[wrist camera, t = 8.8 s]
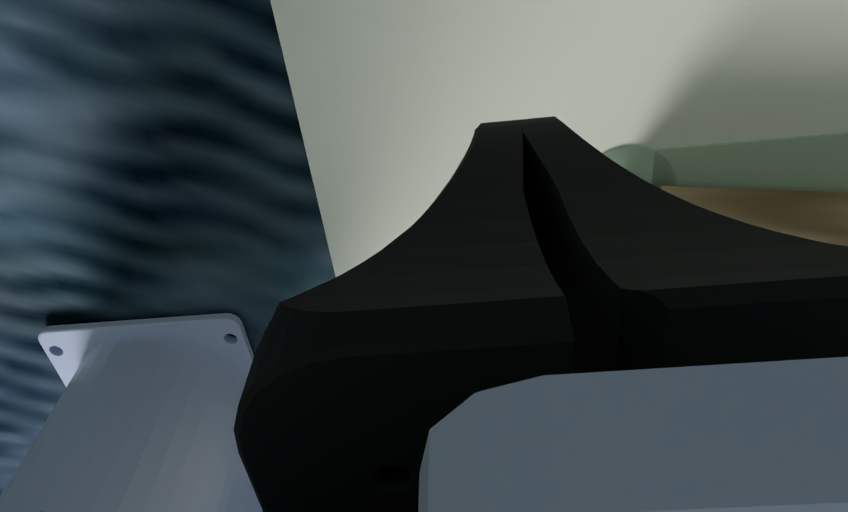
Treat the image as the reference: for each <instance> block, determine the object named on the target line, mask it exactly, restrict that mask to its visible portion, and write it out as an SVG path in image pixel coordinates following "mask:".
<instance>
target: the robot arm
mask: <svg viewBox="0 0 848 512" xmlns="http://www.w3.org/2000/svg"><path fill="white" fill-rule="evenodd" d="M228 334H233V335H235V336H236V337H231V336H229V335H228ZM38 340H39V342H40V344H41V346H42V347H43V349H44V351H45V352H46V354H47V356H48V357H49V359H50V361H51V362H52V364H53V366H54V367H55V369H56V371H57V373H58V374H59V376H60V378H61V379H62V381H63V383H64V384H65V386H66V389H65V391H64V392H63V394H62V395H61V397H60V399H59V400H58V402H57V404H56V405H55V407H54V409H53V410H52V412H51V414H50V415H49V417H48V419H47V420H46V422H45V423H44V425H43V427H42V428H41V430H40V432H39V433H38V435H37V437H36V438H35V440H34V442H33V443H32V445H31V447H30V448H29V450H28V452H27V453H26V455H25V456H24V458H23V460H22V461H21V463H20V465H19V466H18V468H17V470H16V471H15V473H14V475H13V476H12V478H11V480H10V481H9V483H8V484H7V486H6V488H5V489H4V491H3V493H2V494H1V496H0V512H261V510H263V512H848V246H842V245H836V244H830V243H824V242H819V241H815V240H810V239H806V238H802V237H798V236H793V235H789V234H785V233H781V232H776V231H772V230H769V229H765V228H762V227H758V226H755V225H751V224H748V223H745V222H742V221H739V220H736V219H733V218H730V217H727V216H724V215H721V214H718V213H715V212H712V211H710V210H707V209H705V208H702V207H699V206H697V205H694V204H692V203H690V202H688V201H685V200H683V199H681V198H679V197H677V196H675V195H672V194H670V193H668V192H666V191H664V190H662V189H660V188H658V187H656V186H654V185H652V184H650V183H648V182H647V181H645V180H643V179H642V178H640V177H638V176H637V175H635V174H633V173H632V172H630V171H628V170H627V169H625V168H623V167H622V166H620V165H619V164H617V163H616V162H614V161H613V160H611V159H610V158H608V157H607V156H605V155H604V154H603V153H601V152H600V151H599V150H597V149H596V148H594V147H593V146H592V145H591V144H589V143H588V142H587V141H585V140H584V139H583V138H581V137H580V136H579V135H578V134H576V133H575V132H574V131H573V130H571V129H570V128H569V127H568V126H567V125H565V124H564V123H563V122H562V121H560V120H559V119H558V118H556V117H555V116H552V117H542V118H531V119H520V120H509V121H499V122H488V123H481V124H480V125H479V126H478V127H477V128H476V129H475V131H474V136H473V138H472V141H471V143H470V146H469V148H468V150H467V152H466V154H465V156H464V157H463V159H462V161H461V163H460V164H459V166H458V168H457V169H456V171H455V173H454V174H453V176H452V177H451V179H450V180H449V182H448V183H447V184H446V186H445V187H444V189H443V190H442V191H441V193H440V194H439V195H438V197H437V198H436V199H435V201H434V202H433V203H432V204H431V206H430V207H429V208H428V209H427V210H426V211H425V212H424V214H423V215H422V216H421V217H420V218H419V219H418V220H417V221H416V222H415V223H414V224H413V225H412V226H411V227H410V228H408V229H407V230H406V231H405V232H403V233H402V234H401V235H400V236H398V237H397V238H396V239H395V240H393V241H392V242H391V243H389V244H388V245H387V246H386V247H384V248H383V249H382V250H380V251H379V252H378V253H376V254H375V255H373V256H371V257H370V258H368V259H367V260H365V261H364V262H362V263H361V264H359V265H357V266H355V267H354V268H352V269H350V270H348V271H347V272H345V273H343V274H341V275H339V276H338V277H336V278H334V279H332V280H330V281H328V282H325V283H323V284H321V285H319V286H316V287H314V288H312V289H310V290H308V291H305V292H303V293H301V294H299V295H296V296H294V297H292V298H289V299H287V300H284V301H282V302H280V303H279V305H278V306H277V309H276V311H275V313H274V315H273V317H272V319H271V321H270V323H269V325H268V327H267V329H266V331H265V332H264V335H263V337H262V339H261V341H260V344H259V346H258V348H257V350H256V353H255V355H253V352H252V349H251V346H250V343H249V340H248V338H247V335H246V332H245V329H244V326H243V324H242V321H241V320H240V318H239V317H237V316H236V315H233V314H231V313H220V314H206V315H192V316H178V317H164V318H150V319H137V320H123V321H109V322H95V323H81V324H67V325H53V326H47V327H44V328H43V329H42V331H41V332H40V333H39V335H38ZM56 346H57V347H56ZM58 347H59V348H58ZM60 348H61V349H60Z"/></svg>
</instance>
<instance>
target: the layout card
mask: <svg viewBox="0 0 848 512" xmlns="http://www.w3.org/2000/svg"><path fill="white" fill-rule="evenodd" d="M270 1H271V6H272V10H273V14H274V18H275V23H276V27H277V31H278V35H279V39H280V44H281V48H282V52H283V56H284V61H285V65H286V69H287V73H288V78H289V82H290V86H291V90H292V95H293V99H294V103H295V107H296V111H297V116H298V120H299V124H300V128H301V133H302V137H303V141H304V145H305V150H306V154H307V158H308V162H309V167H310V171H311V175H312V179H313V183H314V188H315V192H316V196H317V200H318V205H319V209H320V213H321V217H322V222H323V226H324V230H325V234H326V239H327V243H328V247H329V251H330V255H331V260H332V264H333V268H334V272H335V277H338V276H339V275H341V274H343V273H345V272H347V271H348V270H350V269H352V268H354V267H355V266H357V265H359V264H361V263H362V262H364V261H365V260H367V259H368V258H370V257H371V256H373V255H375V254H376V253H378V252H379V251H380V250H382V249H383V248H384V247H386V246H387V245H388V244H389V243H391V242H392V241H393V240H395V239H396V238H397V237H398V236H400V235H401V234H402V233H403V232H405V231H406V230H407V229H408V228H410V227H411V226H412V225H413V224H414V223H415V222H416V221H417V220H418V219H419V218H420V217H421V216H422V215H423V214H424V212H425V211H426V210H427V209H428V208H429V207H430V206H431V204H432V203H433V202H434V201H435V199H436V198H437V197H438V195H439V194H440V193H441V191H442V190H443V189H444V187H445V186H446V184H447V183H448V182H449V180H450V179H451V177H452V176H453V174H454V173H455V171H456V169H457V168H458V166H459V164H460V163H461V161H462V159H463V157H464V156H465V154H466V152H467V150H468V148H469V146H470V143H471V141H472V138H473V136H474V131H475V129H476V128H477V127H478V126H479V125H480V124H481V123H488V122H499V121H509V120H520V119H531V118H542V117H552V116H555V117H556V118H558V119H559V120H560V121H562V122H563V123H564V124H565V125H567V126H568V127H569V128H570V129H571V130H573V131H574V132H575V133H576V134H578V135H579V136H580V137H581V138H583V139H584V140H585V141H587V142H588V143H589V144H591V145H592V146H593V147H594V148H596V149H597V150H599V151H600V152H601V153H603V154H604V155H605V156H607V157H608V158H610V159H611V160H613V161H614V162H616V163H617V164H619V165H620V166H622V167H623V168H625V169H627V170H628V171H630V172H632V173H633V174H635V175H637V176H638V177H640V178H642V179H643V180H645V181H647V182H648V183H650V184H652V185H654V186H656V187H658V188H660V186H680V187H707V188H735V189H762V190H789V191H816V192H844V193H848V0H270Z"/></svg>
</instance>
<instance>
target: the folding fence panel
mask: <svg viewBox="0 0 848 512" xmlns="http://www.w3.org/2000/svg"><path fill="white" fill-rule="evenodd" d="M660 189H662V190H664V191H666V192H668V193H670V194H672V195H675V196H677V197H679V198H681V199H683V200H685V201H688V202H690V203H692V204H694V205H697V206H699V207H702V208H705V209H707V210H710V211H712V212H715V213H718V214H721V215H724V216H727V217H730V218H733V219H736V220H739V221H742V222H745V223H748V224H751V225H755V226H758V227H762V228H765V229H769V230H772V231H776V232H781V233H785V234H789V235H793V236H798V237H802V238H806V239H810V240H815V241H819V242H824V243H830V244H836V245H842V246H848V193H844V192H816V191H789V190H762V189H735V188H707V187H680V186H660Z"/></svg>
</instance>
